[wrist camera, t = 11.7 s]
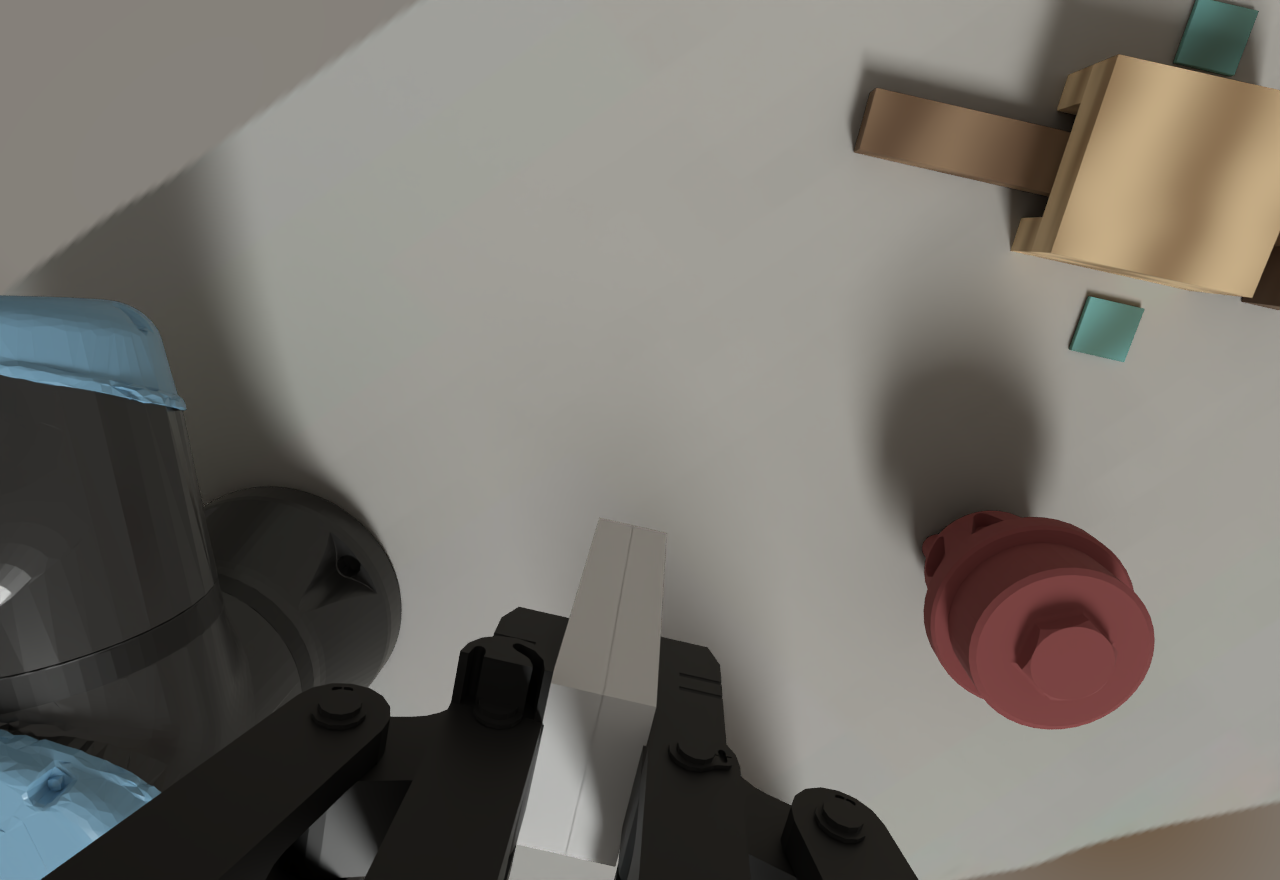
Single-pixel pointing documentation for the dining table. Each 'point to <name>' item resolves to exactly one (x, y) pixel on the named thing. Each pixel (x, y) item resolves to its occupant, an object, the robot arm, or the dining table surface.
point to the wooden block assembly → (1048, 156)
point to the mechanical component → (1035, 618)
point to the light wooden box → (1164, 178)
